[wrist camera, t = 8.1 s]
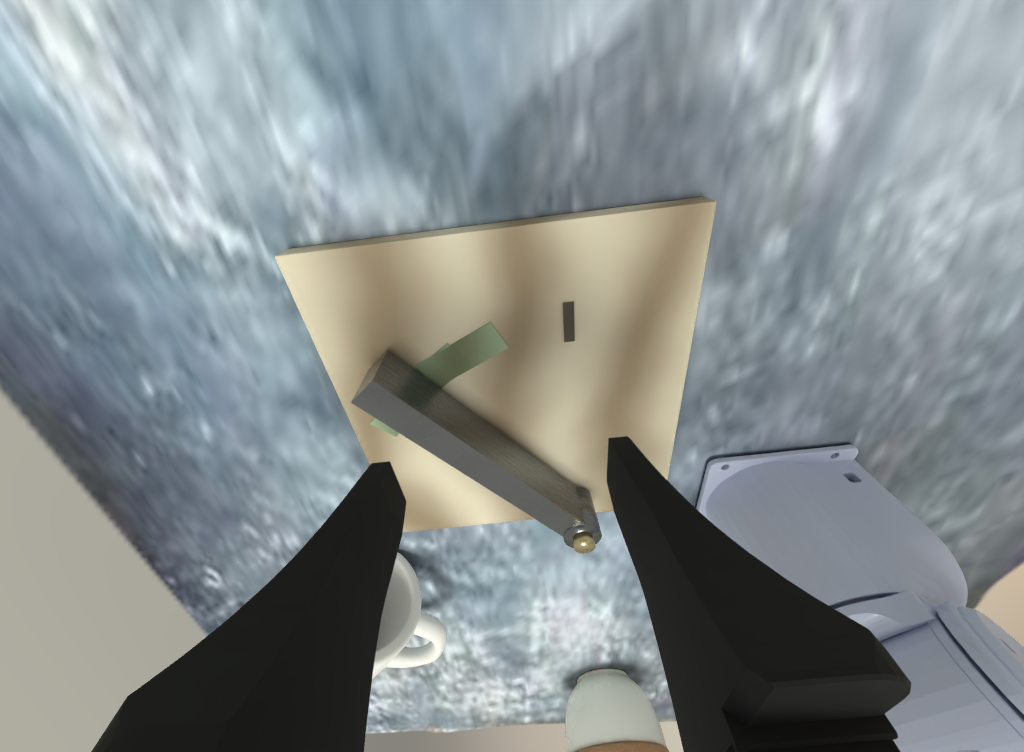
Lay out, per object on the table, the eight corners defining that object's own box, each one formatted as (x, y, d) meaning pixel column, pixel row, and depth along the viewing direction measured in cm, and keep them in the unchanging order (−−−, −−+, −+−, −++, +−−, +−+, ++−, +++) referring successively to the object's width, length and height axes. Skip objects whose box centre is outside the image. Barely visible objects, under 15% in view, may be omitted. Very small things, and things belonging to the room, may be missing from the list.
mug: (294, 589, 32) (241, 711, 25) (329, 527, 27) (276, 655, 21) (424, 620, 36) (408, 733, 29) (474, 569, 31) (469, 689, 24)
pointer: (391, 344, 17) (371, 385, 15) (598, 497, 24) (611, 546, 21) (365, 372, 18) (341, 416, 15) (571, 513, 25) (581, 562, 22)
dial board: (702, 196, 16) (718, 201, 15) (656, 491, 26) (663, 507, 25) (288, 248, 16) (273, 257, 15) (404, 517, 27) (400, 533, 26)
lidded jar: (550, 694, 47) (561, 805, 40) (568, 659, 42) (585, 781, 34) (630, 694, 49) (656, 803, 41) (659, 660, 43) (696, 779, 35)
